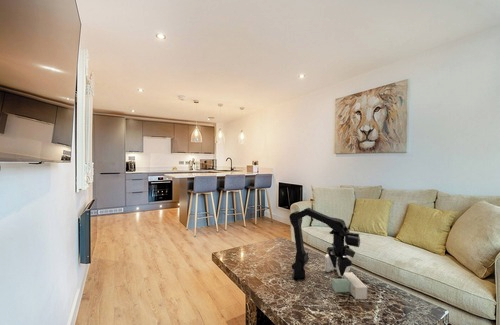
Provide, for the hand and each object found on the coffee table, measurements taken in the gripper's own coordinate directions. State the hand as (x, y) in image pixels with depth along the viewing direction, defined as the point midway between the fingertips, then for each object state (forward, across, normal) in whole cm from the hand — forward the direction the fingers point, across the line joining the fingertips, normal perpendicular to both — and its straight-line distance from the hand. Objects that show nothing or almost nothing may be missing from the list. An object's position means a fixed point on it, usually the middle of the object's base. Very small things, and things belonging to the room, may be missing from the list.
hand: (338, 271), depth 125 cm
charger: (+10, 0, -3) cm, 11 cm away
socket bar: (+10, 0, -9) cm, 14 cm away
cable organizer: (+11, +21, -9) cm, 25 cm away
